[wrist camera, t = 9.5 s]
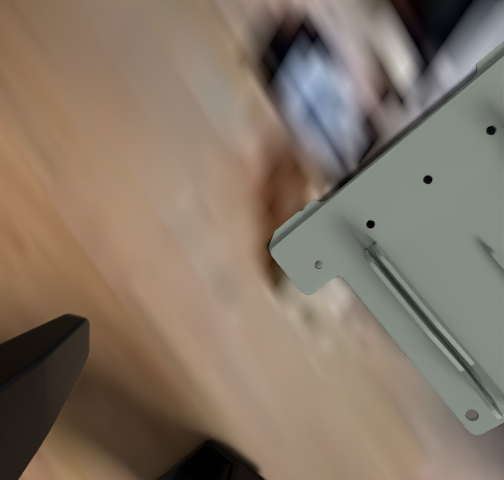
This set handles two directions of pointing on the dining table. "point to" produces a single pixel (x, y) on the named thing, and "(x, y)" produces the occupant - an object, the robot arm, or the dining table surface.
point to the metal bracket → (425, 245)
